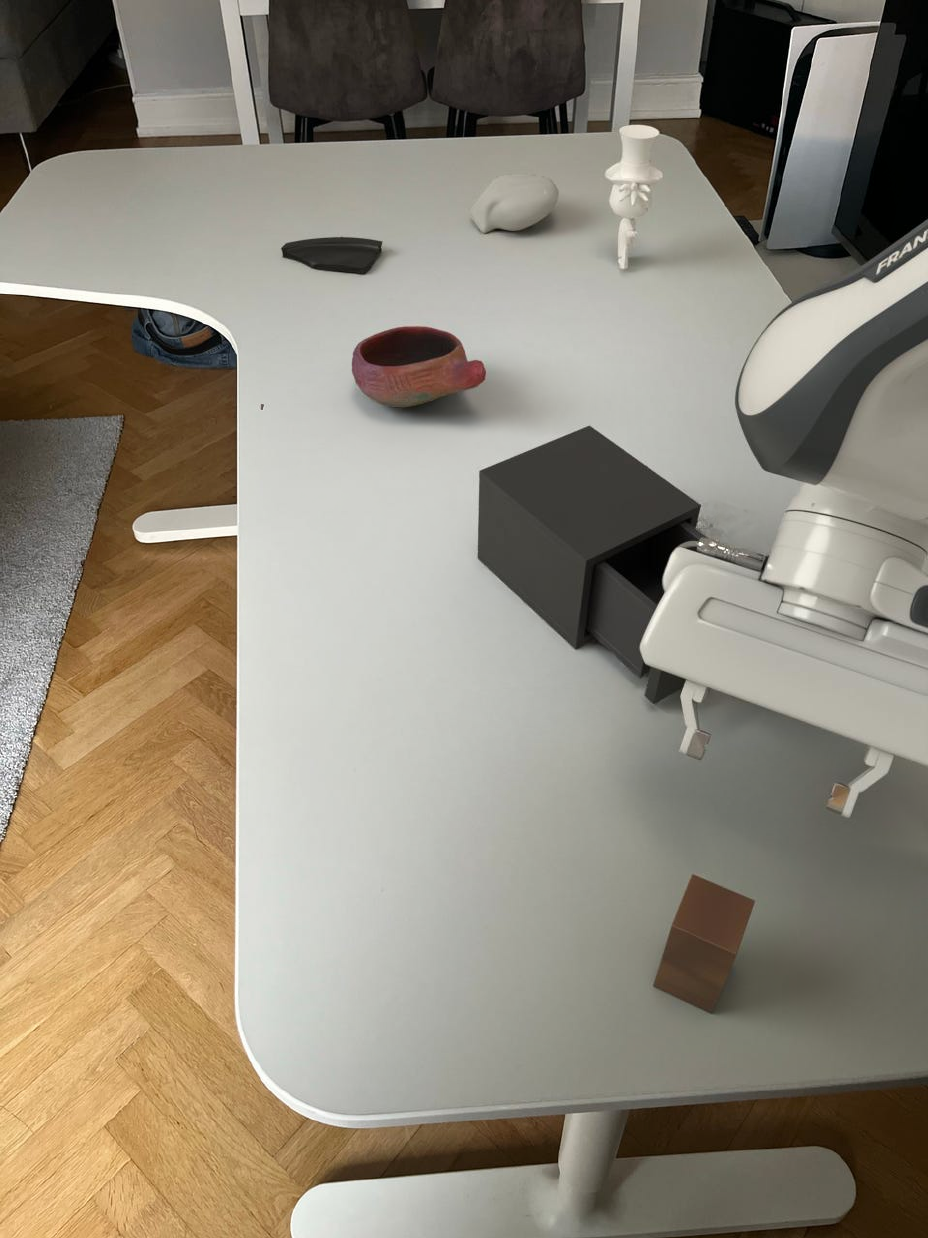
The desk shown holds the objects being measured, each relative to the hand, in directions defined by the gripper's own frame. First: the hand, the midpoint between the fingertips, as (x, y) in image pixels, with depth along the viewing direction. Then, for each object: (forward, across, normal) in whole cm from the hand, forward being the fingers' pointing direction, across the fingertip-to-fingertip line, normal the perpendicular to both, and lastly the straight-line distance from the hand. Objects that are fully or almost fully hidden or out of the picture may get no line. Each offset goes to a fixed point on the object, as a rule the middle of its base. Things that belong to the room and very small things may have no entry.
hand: (761, 784), depth 63 cm
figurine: (-55, -42, +71) cm, 99 cm away
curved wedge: (-43, -79, +59) cm, 107 cm away
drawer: (-6, -11, +21) cm, 24 cm away
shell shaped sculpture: (-59, -62, +75) cm, 114 cm away
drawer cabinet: (-10, -22, +25) cm, 35 cm away
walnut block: (+14, 0, +2) cm, 14 cm away
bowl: (-24, -50, +40) cm, 68 cm away
